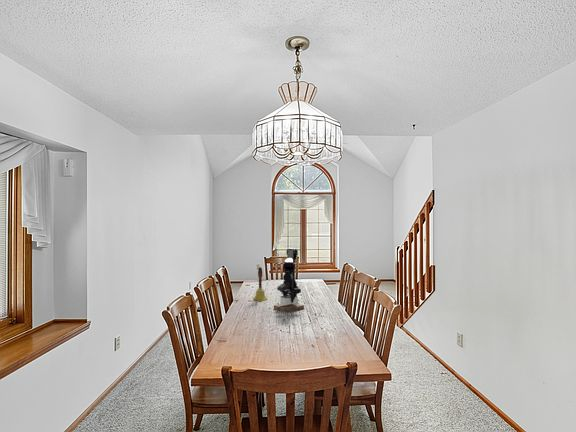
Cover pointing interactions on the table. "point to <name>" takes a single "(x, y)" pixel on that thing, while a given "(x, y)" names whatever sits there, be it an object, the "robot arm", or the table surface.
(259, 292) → the handbell
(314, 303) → the table surface
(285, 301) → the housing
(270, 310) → the table surface
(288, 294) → the robot arm
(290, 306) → the walnut stand
